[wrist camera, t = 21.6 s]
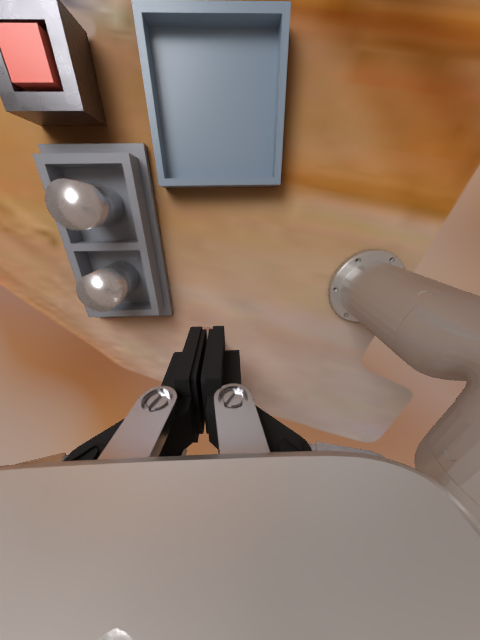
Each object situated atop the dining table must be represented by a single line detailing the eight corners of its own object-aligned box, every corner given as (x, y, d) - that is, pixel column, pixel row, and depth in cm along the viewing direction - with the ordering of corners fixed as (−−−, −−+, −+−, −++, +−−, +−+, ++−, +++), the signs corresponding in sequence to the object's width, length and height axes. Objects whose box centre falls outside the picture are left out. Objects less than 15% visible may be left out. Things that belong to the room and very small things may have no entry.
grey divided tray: (146, 145, 30) (134, 136, 26) (172, 313, 40) (167, 323, 37) (43, 145, 29) (17, 137, 26) (98, 314, 40) (85, 325, 36)
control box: (86, 32, 25) (54, -6, 20) (106, 125, 29) (83, 110, 24) (11, 32, 25) (-37, -7, 20) (41, 126, 28) (5, 110, 24)
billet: (121, 186, 31) (89, 180, 23) (127, 226, 33) (100, 231, 26) (82, 183, 30) (38, 176, 23) (91, 224, 32) (53, 229, 25)
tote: (284, 23, 25) (290, 1, 22) (276, 186, 32) (280, 184, 29) (142, 22, 25) (131, -1, 22) (165, 187, 32) (159, 185, 29)
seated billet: (136, 260, 35) (111, 274, 28) (142, 291, 37) (121, 311, 30) (103, 261, 35) (70, 275, 28) (111, 292, 37) (83, 312, 30)
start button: (58, 43, 23) (36, 22, 21) (72, 95, 25) (53, 82, 23) (19, 43, 23) (-9, 22, 21) (35, 95, 25) (12, 82, 22)
